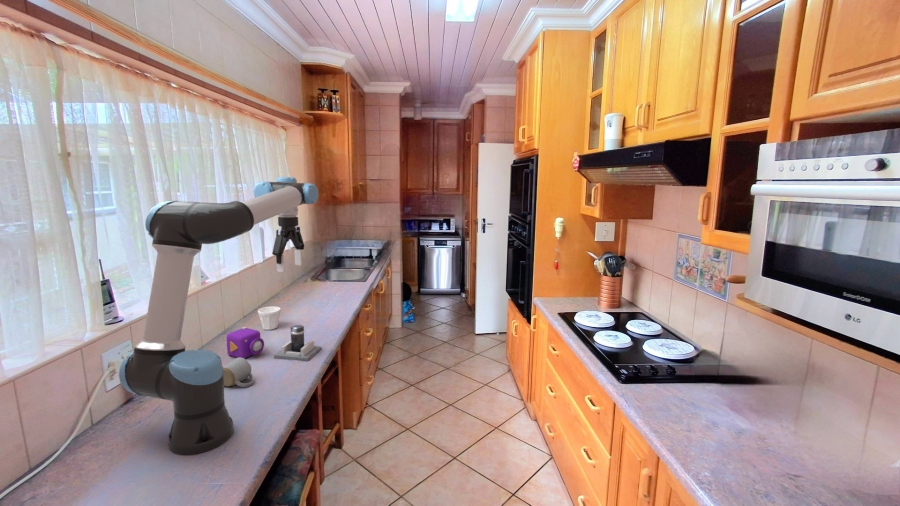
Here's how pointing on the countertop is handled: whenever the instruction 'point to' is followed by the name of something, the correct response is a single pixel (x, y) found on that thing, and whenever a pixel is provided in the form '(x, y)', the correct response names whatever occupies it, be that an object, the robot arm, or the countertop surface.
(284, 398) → the countertop surface
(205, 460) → the countertop surface
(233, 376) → the ceramic mug
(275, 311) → the cup
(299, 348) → the lens
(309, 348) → the mount
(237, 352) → the toy camera
